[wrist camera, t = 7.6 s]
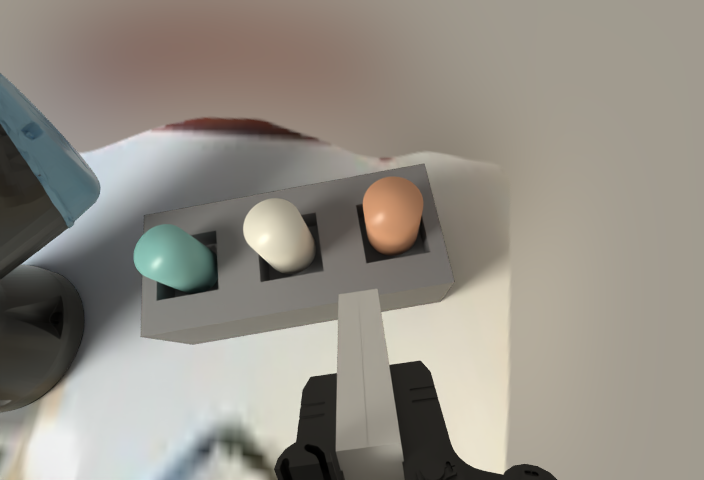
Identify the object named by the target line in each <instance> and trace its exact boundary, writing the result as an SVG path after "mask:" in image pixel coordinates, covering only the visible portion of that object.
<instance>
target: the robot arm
mask: <svg viewBox="0 0 704 480" xmlns="http://www.w3.org/2000/svg"><path fill="white" fill-rule="evenodd" d="M99 195H100V183H99V180H98V179H97V177H96V175H95V174H94V172H93V171H92V170H91V168H90V167H89V166H88V164H87V163H86V162H85V161H84V159H83V158H82V157H81V156H80V155H79V153H78V152H77V151H76V150H75V149H74V148H73V147H72V146H71V144H70V143H69V142H68V141H67V140H66V139H65V138H64V136H63V135H62V134H61V133H60V132H59V131H58V130H57V129H56V128H55V127H54V126H53V124H52V123H51V122H50V121H49V120H47V118H46V117H45V116H44V115H43V114H42V113H41V112H40V111H39V110H38V109H37V108H36V107H35V106H34V105H33V104H32V103H31V102H30V101H29V100H28V99H27V98H26V97H25V96H24V95H23V94H22V93H21V92H20V91H19V90H18V89H17V88H16V87H15V86H14V85H13V84H12V83H11V82H10V81H9V80H8V79H6V78H5V77H4V76H3V75H2V74H1V73H0V412H6V411H11V410H15V409H18V408H21V407H23V406H26V405H28V404H30V403H32V402H33V401H35V400H37V399H38V398H40V397H41V396H42V395H44V394H45V393H46V392H47V391H49V390H50V389H51V388H52V387H53V386H54V385H55V384H56V383H57V382H58V381H59V380H60V378H61V377H62V376H63V375H64V373H65V372H66V371H67V369H68V368H69V366H70V364H71V363H72V361H73V359H74V357H75V355H76V353H77V350H78V348H79V345H80V342H81V338H82V333H83V327H84V312H83V306H82V302H81V299H80V296H79V294H78V292H77V290H76V289H75V287H74V286H73V285H72V284H71V283H70V282H69V281H68V280H67V279H66V278H65V277H63V276H61V275H60V274H58V273H55V272H52V271H49V270H46V269H42V268H39V267H36V266H30V265H21V264H22V263H23V262H24V261H26V260H27V259H28V258H30V257H31V256H32V255H34V254H35V253H36V252H38V251H39V250H40V249H41V248H43V247H44V246H45V245H47V244H48V243H49V242H51V241H52V240H53V239H55V238H56V237H57V236H58V235H60V234H61V233H62V232H64V231H65V230H66V229H68V228H70V227H72V226H73V225H74V221H75V220H77V219H78V218H79V217H80V216H81V215H82V214H83V213H84V212H85V211H87V210H88V209H89V208H90V207H91V206H92V205H93V204H94V203H95V202H96V201H97V199H98V197H99ZM299 417H300V420H299V424H298V432H297V440H296V443H294V444H292V445H291V446H289V447H288V448H287V449H285V450H284V452H283V453H282V454H281V455H280V457H279V458H278V460H277V463H276V466H275V468H274V470H275V473H276V475H277V478H278V480H557V479H556V478H555V477H554V476H553V475H552V474H551V473H549V472H548V471H546V470H544V469H542V468H540V467H538V466H533V465H528V464H521V465H515V466H513V467H511V468H510V469H508V470H507V471H505V473H504V475H502V474H497V473H492V472H487V471H482V470H479V469H476V468H473V467H472V466H470V465H468V464H466V463H465V462H464V461H463V460H462V459H460V458H459V457H458V455H457V454H456V453H455V451H454V450H453V447H452V445H451V442H450V439H449V435H448V432H447V428H446V425H445V421H444V418H443V414H442V411H441V407H440V404H439V400H438V397H437V393H436V389H435V386H434V382H433V379H432V375H431V372H430V371H429V370H428V368H427V367H426V366H425V365H424V364H423V363H422V362H421V361H414V362H407V363H400V364H393V365H389V360H388V354H387V347H386V341H385V334H384V328H383V321H382V315H381V309H380V302H379V296H378V289H372V290H365V291H358V292H352V293H345V294H339V301H338V354H337V373H335V374H328V375H321V376H314V377H310V379H309V381H308V382H307V384H306V386H305V387H304V389H303V392H302V400H301V408H300V416H299Z"/></svg>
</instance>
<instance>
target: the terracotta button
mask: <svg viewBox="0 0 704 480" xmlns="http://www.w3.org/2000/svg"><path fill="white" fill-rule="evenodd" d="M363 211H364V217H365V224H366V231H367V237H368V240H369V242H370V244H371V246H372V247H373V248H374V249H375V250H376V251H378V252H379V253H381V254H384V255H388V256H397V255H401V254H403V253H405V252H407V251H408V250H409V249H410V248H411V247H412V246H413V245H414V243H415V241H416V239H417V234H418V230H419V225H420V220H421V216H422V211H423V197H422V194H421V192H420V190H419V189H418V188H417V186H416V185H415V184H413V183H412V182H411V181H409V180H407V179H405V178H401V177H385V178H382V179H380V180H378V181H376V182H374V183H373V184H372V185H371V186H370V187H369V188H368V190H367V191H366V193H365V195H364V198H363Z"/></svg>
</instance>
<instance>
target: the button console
mask: <svg viewBox="0 0 704 480" xmlns="http://www.w3.org/2000/svg"><path fill="white" fill-rule="evenodd" d="M385 177H401V178H405V179H407V180H409V181H411V182H412V183H413V184H415V185H416V186H417V188H418V189H419V190H420V192H421V194H422V197H423V211H422V216H421V220H420V225H419V230H418V234H417V239H416V241H415V243H414V245H413V246H412V247H411V248H410V249H409V250H408V251H407V252H405V253H403V254H401V255H397V256H388V255H384V254H381V253H379V252H378V251H376V250H375V249H374V248H373V247H372V246H371V244H370V242H369V240H368V237H367V231H366V224H365V217H364V211H363V198H364V195H365V193H366V191H367V190H368V188H369V187H370V186H371V185H372V184H373V183H374V182H376V181H378V180H380V179H382V178H385ZM272 198H279V199H284V200H287V201H289V202H291V203H292V204H293V205H294V206H295V207H296V208H297V209H298V211H299V213H300V214H301V216H302V218H303V220H304V222H305V224H306V225H307V227H308V229H309V231H310V233H311V234H312V236H313V238H314V240H315V243H316V254H315V257H314V259H313V261H312V263H311V264H310V265H309V266H308V267H307V268H306V269H305V270H303V271H301V272H299V273H295V274H284V273H281V272H279V271H277V270H276V269H274V268H273V267H272V266H271V265H270V264H269V263H268V262H267V261H266V260H265V259H263V258H262V257H261V256H260V255H259V254H258V253H257V252H256V251H255V250H254V249H253V248H252V247H250V245H249V244H248V243H247V241H246V239H245V237H244V233H243V225H244V221H245V218H246V216H247V214H248V213H249V211H250V210H251V209H252V208H253V207H254V206H255V205H256V204H258V203H260V202H262V201H264V200H267V199H272ZM163 224H171V225H175V226H177V227H179V228H181V229H182V230H183V231H185V232H186V233H188V234H189V235H191V236H192V237H193V238H195V239H196V240H198V241H199V242H201V243H202V244H203V245H205V246H206V247H208V248H209V249H211V250H212V251H214V252H215V253H216V254H217V262H218V280H217V282H216V283H215V284H214V285H213V287H211V288H210V289H209V290H207V291H205V292H203V293H197V294H188V293H185V292H183V291H180V290H178V289H175V288H173V287H170V286H168V285H165V284H163V283H160V282H158V281H155V280H153V279H150V278H148V277H145V276H143V275H142V305H141V337H145V338H151V339H158V340H165V341H172V342H179V343H185V344H192V345H193V344H199V343H205V342H211V341H216V340H222V339H228V338H234V337H240V336H245V335H251V334H257V333H263V332H268V331H274V330H280V329H286V328H291V327H297V326H303V325H309V324H314V323H320V322H326V321H332V320H338V301H339V294H345V293H352V292H358V291H365V290H372V289H378V296H379V302H380V309H381V312H384V311H389V310H395V309H401V308H407V307H412V306H418V305H424V304H430V303H436V302H440V301H441V300H442V299H443V297H444V296H445V295H446V293H447V292H448V290H449V289H450V288H451V286H452V285H453V284H454V282H455V281H454V277H453V274H452V270H451V266H450V262H449V258H448V254H447V250H446V246H445V242H444V238H443V234H442V230H441V226H440V223H439V219H438V215H437V211H436V207H435V203H434V199H433V195H432V191H431V187H430V183H429V179H428V175H427V172H426V168H425V164H419V165H414V166H409V167H403V168H398V169H392V170H387V171H381V172H376V173H371V174H365V175H360V176H354V177H349V178H344V179H338V180H333V181H327V182H322V183H317V184H311V185H306V186H300V187H295V188H289V189H284V190H279V191H273V192H268V193H262V194H257V195H252V196H246V197H241V198H235V199H230V200H224V201H219V202H214V203H208V204H203V205H197V206H192V207H187V208H181V209H176V210H170V211H165V212H160V213H154V214H149V215H144V232H143V234H144V233H146V232H147V231H148V230H150V229H151V228H153V227H155V226H158V225H163Z"/></svg>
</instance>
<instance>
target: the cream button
mask: <svg viewBox="0 0 704 480" xmlns="http://www.w3.org/2000/svg"><path fill="white" fill-rule="evenodd" d="M243 233H244V237H245V239H246V241H247V243H248V244H249V245H250V247H252V248H253V249H254V250H255V251H256V252H257V253H258V254H259V255H260V256H261V257H262V258H263V259H265V260H266V261H267V262H268V263H269V264H270V265H271V266H272V267H273V268H274V269H276V270H277V271H279V272H281V273H284V274H295V273H299V272H301V271H303V270H305V269H306V268H307V267H308V266H309V265H310V264H311V263H312V261H313V259H314V257H315V254H316V243H315V240H314V238H313V236H312V234H311V233H310V231H309V229H308V227H307V225H306V224H305V222H304V220H303V218H302V216H301V214H300V213H299V211H298V209H297V208H296V207H295V206H294V205H293V204H292V203H291V202H289V201H287V200H284V199H279V198H272V199H267V200H264V201H262V202H260V203H258V204H256V205H255V206H254V207H253V208H252V209H251V210H250V211H249V213H248V214H247V216H246V218H245V221H244V225H243Z"/></svg>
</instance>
